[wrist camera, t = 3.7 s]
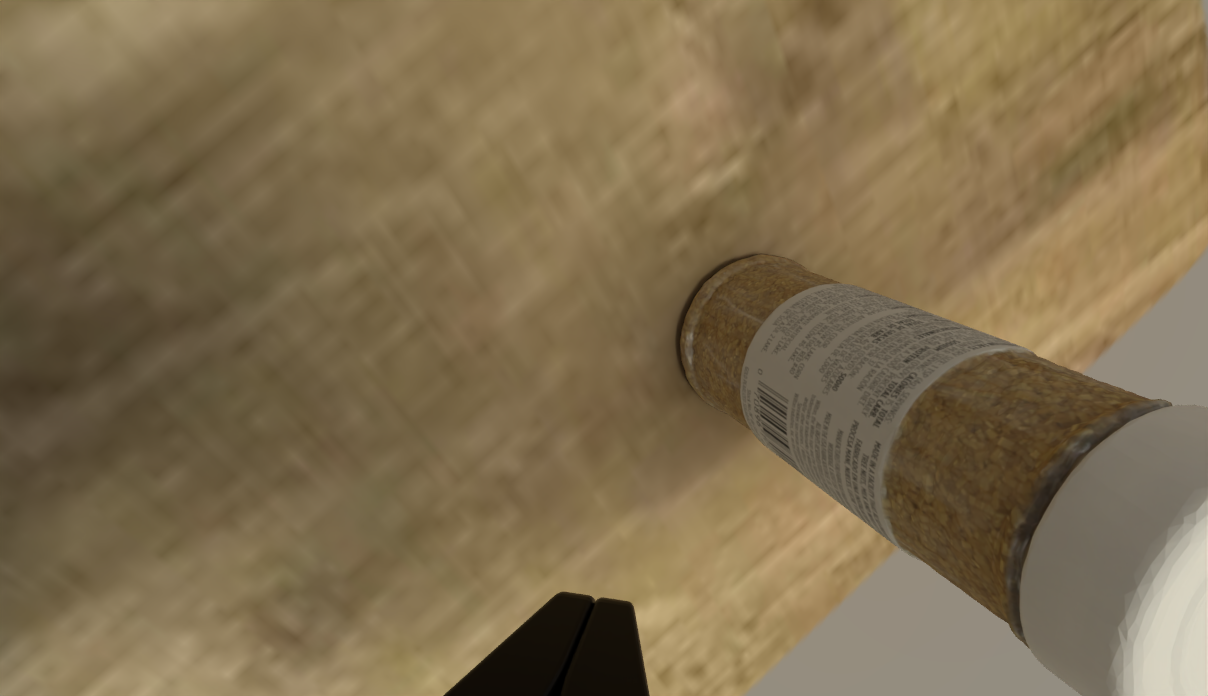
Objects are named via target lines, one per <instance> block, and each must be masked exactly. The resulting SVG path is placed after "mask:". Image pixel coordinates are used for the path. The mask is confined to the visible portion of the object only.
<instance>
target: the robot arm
mask: <svg viewBox="0 0 1208 696" xmlns="http://www.w3.org/2000/svg"><path fill="white" fill-rule="evenodd" d="M443 696H649V690H648V685H647V679H646V673H645V668H644V662H643V656H642V650H641V645H640V639H639V633H638V628H637V622H636V616H635V611H634V606H633V605H632V603H630V602H628V601H623V600H616V599H609V598H599V599H598V600H596V601H595V599H594V598H593V597H592V596H589V595H583V594H576V593H569V592H560V593H558V594H556V595H555V596H554V597H553V598H551V599H550V600H549V601H548V602H547V603H546V604H545V605H544V606H543V607H541V608H540V609H539V610H538V611H537V612H536V613H535V614H534V615H533V616H531V617H530V618H529V619H528V620H527V621H526V622H525V623H524V624H523V625H521V626H520V627H519V628H518V629H517V630H516V631H515V632H514V633H513V634H511V635H510V636H509V637H508V638H507V639H506V640H505V641H504V642H502V643H501V644H500V645H499V646H498V647H497V648H496V649H495V650H494V651H492V652H491V653H490V654H489V655H488V656H487V657H486V658H485V659H484V660H482V661H481V662H480V663H479V664H478V665H477V666H476V667H475V668H474V669H472V670H471V671H470V672H469V673H468V674H467V675H466V676H465V677H464V678H462V679H461V680H460V681H459V682H458V683H457V684H456V685H455V686H454V687H452V688H451V689H450V690H449V691H448V692H447V693H446V694H445V695H443Z"/></svg>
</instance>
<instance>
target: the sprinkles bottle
mask: <svg viewBox="0 0 1208 696" xmlns="http://www.w3.org/2000/svg"><path fill="white" fill-rule="evenodd" d="M680 346H681V359H682V364H683V366H684V368H685V373H686V377H687V379H688V381H689V383H690V385H691V386H692V387H693V389H694V390H695V391H696V393H697V394H698V395H699V396H700V397H701V398H702V399H703V400H704V401H705V402H706V403H708V404H709V405H711V406H713V407H714V408H716V409H718V410H720V411H722V412H724V413H726V414H729V415H730V416H732V417H733V418H734V419H736V420H737V421H738V422H740V423H741V424H743V425H744V426H746V427H747V428H748V429H750V430H751V431H752V432H753V433H754V435H755V436H756V437H757V438H758V439H759V440H760V441H761V442H762V443H763V444H764V445H765V446H766V447H767V448H769V449H770V450H771V451H772V452H774V453H775V454H776V455H778V456H779V457H780V458H782V459H783V460H784V461H786V462H787V463H788V464H790V465H791V466H792V467H794V468H795V469H796V470H797V471H799V472H800V473H801V474H803V475H804V476H805V477H806V478H808V479H809V480H810V481H812V482H813V483H814V484H815V485H817V486H818V487H819V488H821V489H822V490H823V491H824V492H826V493H827V494H828V495H830V496H831V497H832V498H834V499H835V500H836V501H837V502H839V503H840V504H841V505H843V506H844V507H845V508H847V509H848V510H849V511H851V512H852V513H853V514H855V515H856V516H857V517H859V518H860V519H861V520H863V521H864V522H865V523H867V524H868V525H869V526H870V527H872V528H873V529H874V530H876V531H877V532H878V533H880V534H881V535H882V536H884V537H885V538H886V539H887V540H889V541H890V542H891V543H893V544H894V545H895V546H897V547H898V548H899V549H901V550H902V551H904V552H905V553H907V554H908V555H910V556H912V557H914V558H916V559H918V560H921V561H923V562H925V563H926V564H928V565H929V566H930V567H932V568H933V569H934V570H935V571H936V572H938V573H939V574H940V575H942V576H943V577H945V578H946V579H948V580H949V581H950V582H951V583H953V584H954V585H955V586H957V587H958V588H960V589H961V590H963V591H964V592H965V593H966V594H968V595H969V596H970V597H972V598H973V599H974V600H976V601H977V602H979V603H980V604H981V605H983V606H984V607H986V608H987V609H988V610H989V611H991V612H992V613H993V614H995V615H996V616H998V617H999V618H1001V619H1002V620H1004V621H1005V622H1007V623H1008V624H1009V626H1010V628H1011V630H1012V632H1013V633H1014V634H1015V636H1016V637H1017V638H1018V639H1019V640H1021V641H1022V642H1024V644H1025V645H1026V646H1027V647H1028V648H1029V649H1030V650H1031V651H1032V653H1033V654H1034V656H1035V657H1036V658H1037V660H1038V661H1039V662H1040V663H1041V664H1043V666H1044V667H1046V668H1047V669H1048V670H1049V671H1050V672H1052V673H1053V674H1055V675H1056V676H1057V677H1058V678H1060V679H1061V680H1062V681H1064V682H1065V683H1066V684H1068V685H1069V686H1070V687H1072V688H1073V689H1074V690H1076V691H1077V692H1078V693H1079V694H1081V695H1082V696H1208V408H1207V407H1203V406H1197V405H1176V406H1172V404H1171V403H1170V402H1168V401H1166V400H1160V399H1157V400H1150V399H1148V398H1145V397H1142V396H1139V395H1136V394H1134V393H1132V392H1129V391H1125V390H1123V389H1121V388H1118V387H1115V386H1112V385H1109V384H1107V383H1104V382H1100V381H1097V380H1095V379H1093V378H1090V377H1088V376H1085V375H1083V374H1081V373H1079V372H1076V371H1073V370H1070V369H1067V368H1065V367H1062V366H1058V365H1056V364H1055V363H1052V362H1050V361H1048V360H1046V359H1044V358H1041V357H1037V356H1036V355H1035V354H1034V353H1033V352H1032V351H1030V350H1028V349H1026V348H1024V347H1021V346H1018V345H1016V344H1013V343H1010V342H1008V341H1005V340H1002V339H1000V338H997V337H994V336H992V335H989V334H986V333H983V332H981V331H978V330H975V329H972V328H970V327H967V326H964V325H961V324H959V323H956V322H953V321H951V320H948V319H945V318H942V317H939V316H937V315H934V314H931V313H928V312H926V311H923V310H920V309H917V308H915V307H912V306H910V305H907V304H904V303H902V302H899V301H896V300H893V299H891V298H888V297H885V296H882V295H879V294H877V293H874V292H871V291H869V290H866V289H863V288H860V287H857V286H854V285H848V284H841V283H839V282H837V281H834V280H832V279H828V278H825V277H823V276H820V275H817V274H814V273H812V272H810V271H808V270H807V269H806V268H805V267H803V266H802V265H800V264H798V263H796V262H794V261H792V260H789V259H786V258H782V257H777V256H770V255H762V254H759V255H755V256H752V257H749V258H745V259H741V260H738V261H736V262H734V263H732V264H730V265H728V266H726V267H724V268H723V269H721V270H720V271H718V272H717V273H716V274H715V275H714V276H713V277H712V278H710V279H709V280H707V281H706V282H705V283H704V284H703V286H702V288H701V289H700V290H699V292H698V293H697V295H696V296H695V298H694V300H693V302H692V304H691V307H690V309H689V310H688V312H687V314H686V317H685V321H684V325H683V328H682V333H681V339H680Z"/></svg>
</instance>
